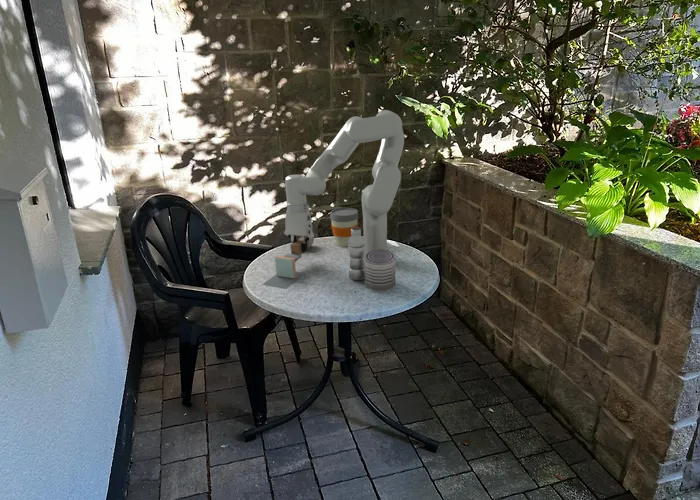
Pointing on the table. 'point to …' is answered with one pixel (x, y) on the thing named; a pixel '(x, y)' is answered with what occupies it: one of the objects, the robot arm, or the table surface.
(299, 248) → the tall brown block
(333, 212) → the reusable coffee cup
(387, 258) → the ribbed tin
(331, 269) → the table surface
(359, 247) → the silver bottle
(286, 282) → the mat
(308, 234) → the ceramic mug
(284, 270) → the tile
